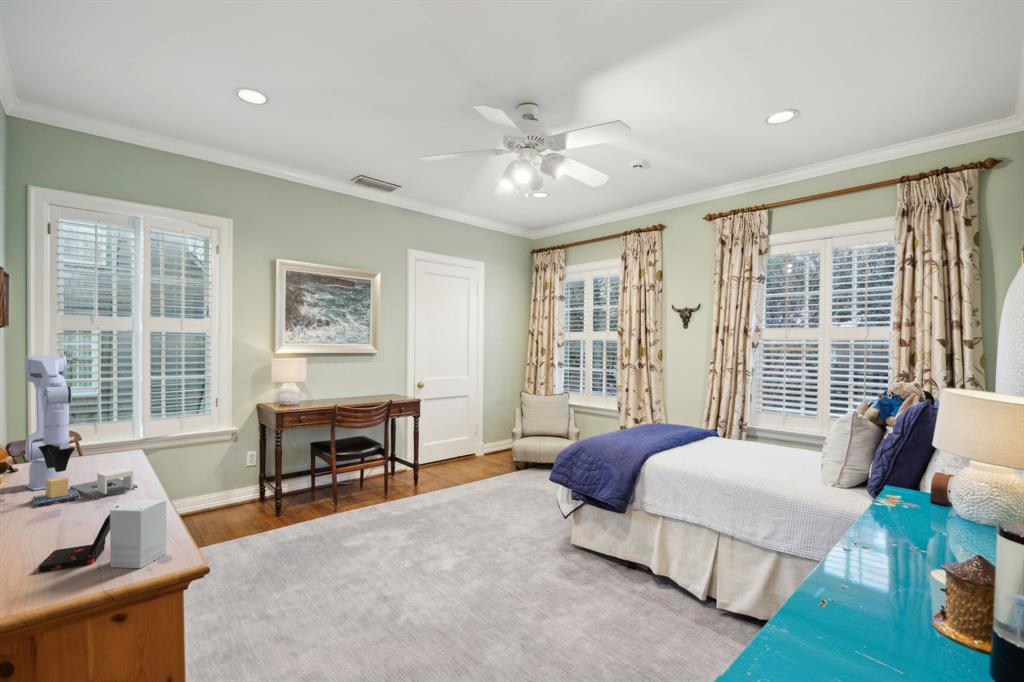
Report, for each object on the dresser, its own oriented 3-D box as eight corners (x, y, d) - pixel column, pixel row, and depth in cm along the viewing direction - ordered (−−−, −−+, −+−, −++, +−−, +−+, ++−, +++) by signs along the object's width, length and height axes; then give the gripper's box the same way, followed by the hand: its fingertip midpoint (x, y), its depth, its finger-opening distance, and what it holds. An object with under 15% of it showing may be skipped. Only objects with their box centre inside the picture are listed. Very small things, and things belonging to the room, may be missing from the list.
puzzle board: (70, 489, 156) (70, 486, 156) (115, 480, 166) (115, 477, 166) (91, 499, 146) (91, 495, 146) (137, 488, 157) (137, 485, 157)
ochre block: (45, 496, 145) (45, 479, 145) (62, 492, 148) (63, 476, 148) (50, 498, 143) (50, 481, 143) (68, 494, 146) (68, 478, 146)
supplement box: (168, 554, 109) (168, 499, 109) (139, 569, 102) (139, 511, 102) (138, 552, 110) (138, 498, 110) (108, 567, 103) (108, 509, 103)
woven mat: (76, 494, 153) (76, 487, 153) (81, 501, 146) (81, 495, 146) (30, 502, 145) (30, 495, 145) (33, 510, 138) (33, 503, 138)
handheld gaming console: (55, 555, 108) (55, 512, 108) (122, 545, 114) (122, 504, 114) (37, 574, 100) (37, 527, 100) (110, 562, 105) (110, 517, 105)
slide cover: (97, 490, 150) (97, 473, 150) (124, 484, 156) (125, 467, 156) (104, 494, 147) (104, 476, 147) (132, 487, 153) (132, 470, 153)
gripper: (82, 425, 145) (82, 469, 145) (65, 421, 153) (65, 463, 153) (51, 429, 139) (50, 475, 139) (35, 424, 147) (34, 468, 147)
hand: (56, 469), depth 146 cm, fingers open, 7 cm apart
